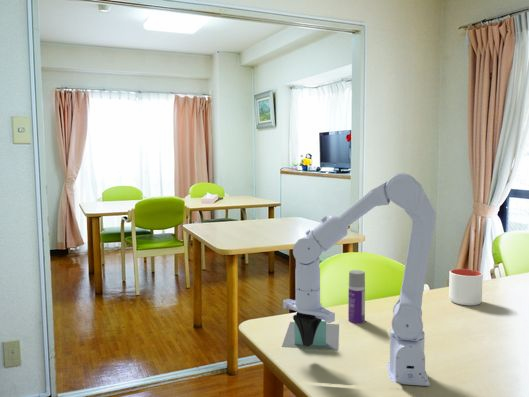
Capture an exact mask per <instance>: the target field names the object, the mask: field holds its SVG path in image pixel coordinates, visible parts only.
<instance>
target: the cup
mask: <svg viewBox="0 0 529 397" xmlns="http://www.w3.org/2000/svg"><path fill="white" fill-rule="evenodd" d="M448 273H449V275H448V276H449V278H448V280H449V281H448V299H449V300H450V301H451V302H452V303H454V304H456V305H461V306H470V307H471V306H473V307H474V306H478V305H480V304H481V303H482V301H483V275H484V274H483V273H482V272H481V271H477V270H473V269H467V268H466V269H465V268H456V269H455V268H453V269H451V270H449V272H448Z"/></svg>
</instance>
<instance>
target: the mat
mask: <svg viewBox="0 0 529 397" xmlns="http://www.w3.org/2000/svg"><path fill="white" fill-rule="evenodd" d="M339 337H340V324H339V323H338V324H337V323H327V344H326V346H315V345H310V346H304V345H298V344H295V326H294V321H289V324H288V327H287V330H286V334H285V336H284V338H283V342H282V345H281V347H282V348H293V349H294V348H295V349H296V348H297V349H307V350H308V349H311V350H324V351H325V350H326V351H327V350H328V351H339V340H340V339H339Z"/></svg>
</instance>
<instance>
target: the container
mask: <svg viewBox="0 0 529 397" xmlns="http://www.w3.org/2000/svg"><path fill="white" fill-rule="evenodd" d="M365 273H366V272H365V271H364V270H359V269H353V270H349V271H348V312H347V313H348V319H347V320H348V322H349V323H351V324H364V323H365V320H366V274H365Z"/></svg>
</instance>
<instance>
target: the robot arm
mask: <svg viewBox="0 0 529 397" xmlns="http://www.w3.org/2000/svg"><path fill="white" fill-rule="evenodd" d="M390 202H392V203H393V204H395V205H397V206H399V207H400V208H401V209H403V211H404V212H405V213H406V214H407V215H408V217H409V218H410V219H411V220H412V221H411V223H412V224H411V226H410V233H409V238H408V247H407V252H406V257H405V265H404V271H403V277H402V281H401V282H402V284H401V288H400V293H399V298H398V300H397V301H396V302H395V304H394V306H393V309H392V313H393V314H392V320H391V328H390V330H389V332H390V333H389V361H387V362H386V368H387V372H388V376H389V381H390V382H392V383H400V385H411V386H424V387H429V386H430V384H431V383H430V381H429V378H428V375H427V373H426V355H425V338H426V337H425V331H424V329H423V328H424V323H423V318H422V316H423V310H422V305H423V294H424V289H425V283H426V279H427V277H426V276H427V271H428V265H429V259H430V253H431V249H432V248H431V247H432V242H433V241H432V240H433V235H434V229H435V223H436V214H437V213H436V211H435V208H434V207H433V205H432V203H431V202H430V199H429V198H428V196H427V193H426V191H425V189H424V188H423V186H422V185H421V183H420V182H419V181H417V180H416V178H415V177H413V176H412V175H411V174H409V173H402V172H401V173H398V174H395V175H393V176H392V177H391V178H390V179H389V180H386V181H384V182H382V183H380V184H379V185H377V186H375V187H373V188H372V189H370V190H369V191H368V192H366V193H365V194H364V195H363V196H361V197H360V198H359V199H358V200H357V201H356V202H354V203H353V204H352V205H351V206H350V207H349V208H347V209H345V211H343V212H342V213H341V214H340V215H336V214H335V215H334V214H330V215H329V216H327V215H325V216H323V217H322V218H321V219H320V221H321V222H320V223H319V224H317V225H316V226H315V227H314V228H313V229H311V230H310V229H308V230H307V231H305V236H302V237H301V238H299V239H298V240H297V241H296V242H295V243H294V245H293V247H292V255H293V257H294V259H295V269H294V270H295V275H294V276H295V278H294V279H295V280H294V281H295V299H290V298H287V299H283V302H282V308H283V309H285V310H287V309H289V310H291V311H295V312H296V313H295V314H294V315H293V316H292V319H293V322H294V321H295V323H296V325H297V327H298V329H299V332H300V335H301V339H302V343H303V345H304V346H310V345H312V344H313V340H314V337H315V333H316V330H317V328H318V326H319V324H320V322H321V320H325V321H326V322H327V324H332V323H334V322H335V321H336V317H335V315H336V314H335V312H333V311H331V310H329V309H327V308H326V307H323V306H322V303H321V267H320V256H321V255H322V253H323V252H327V251H328V250H330V249H331V248H332V247H333V246H334V245H336V244H337V243H339V242H340V241H341V240H342V239H344V238H345V237H346V236H347V235H348V230H349V226H350V225H352V224H353V223H354V222H356V221H358V220H359V219H361V217H363V216H364V215H365V214H367V213H369V212H370V211H371V210H373V209H374V208H376V207H379V206H388V205H389V204H390Z"/></svg>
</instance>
